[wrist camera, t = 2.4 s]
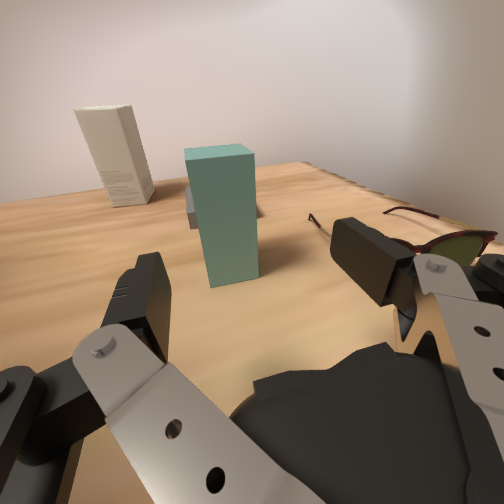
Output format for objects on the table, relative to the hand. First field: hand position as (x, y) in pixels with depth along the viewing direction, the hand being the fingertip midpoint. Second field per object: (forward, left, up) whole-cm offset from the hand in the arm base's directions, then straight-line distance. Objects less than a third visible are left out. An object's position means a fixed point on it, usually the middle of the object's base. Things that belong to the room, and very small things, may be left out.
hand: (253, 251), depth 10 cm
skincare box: (-14, +40, -10) cm, 43 cm away
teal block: (0, +12, -9) cm, 15 cm away
